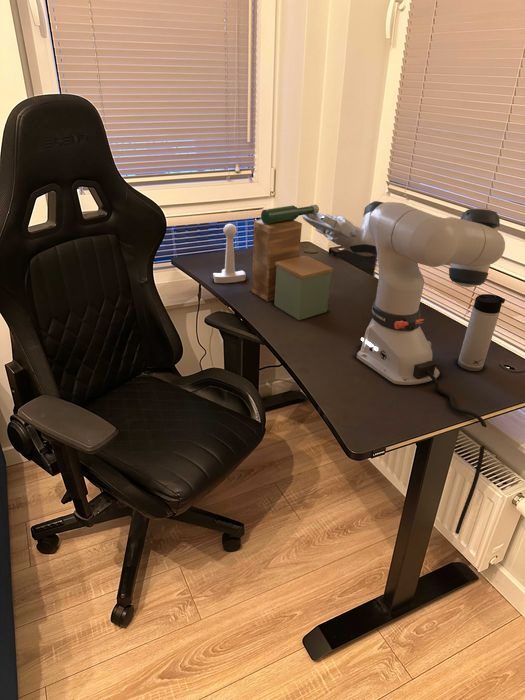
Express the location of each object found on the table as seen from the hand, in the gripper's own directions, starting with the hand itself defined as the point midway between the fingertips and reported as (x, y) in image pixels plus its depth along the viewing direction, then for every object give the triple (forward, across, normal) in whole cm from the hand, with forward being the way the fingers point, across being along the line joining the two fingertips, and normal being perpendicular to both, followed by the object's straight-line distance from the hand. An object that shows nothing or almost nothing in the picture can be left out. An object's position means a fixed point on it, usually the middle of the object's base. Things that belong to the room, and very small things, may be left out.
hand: (313, 213), depth 164 cm
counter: (0, -14, -29) cm, 32 cm away
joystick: (+6, +18, -32) cm, 37 cm away
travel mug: (-14, -65, -20) cm, 69 cm away
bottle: (+8, 0, -5) cm, 9 cm away
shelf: (0, 0, -29) cm, 29 cm away
